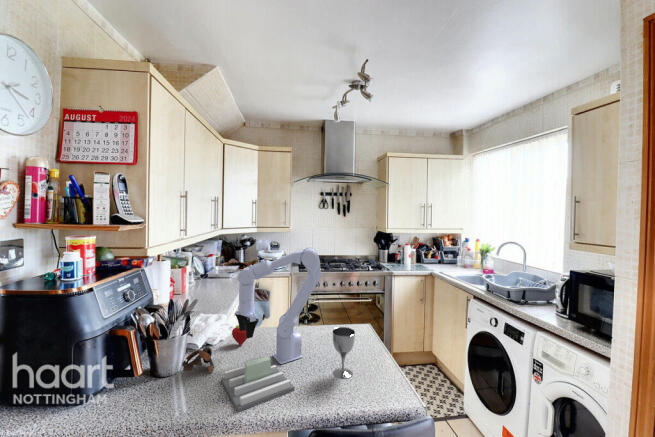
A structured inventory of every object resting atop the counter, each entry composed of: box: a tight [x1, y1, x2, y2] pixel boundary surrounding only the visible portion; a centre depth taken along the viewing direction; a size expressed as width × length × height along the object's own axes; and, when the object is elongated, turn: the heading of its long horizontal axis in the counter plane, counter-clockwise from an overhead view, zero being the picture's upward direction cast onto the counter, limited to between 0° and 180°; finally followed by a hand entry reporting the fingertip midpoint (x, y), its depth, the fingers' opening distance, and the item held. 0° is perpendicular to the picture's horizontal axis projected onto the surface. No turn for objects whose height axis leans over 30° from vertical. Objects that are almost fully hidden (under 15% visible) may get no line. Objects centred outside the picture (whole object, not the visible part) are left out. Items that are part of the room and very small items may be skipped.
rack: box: [220, 362, 295, 413], centre depth 93 cm, size 18×18×3 cm
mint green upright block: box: [244, 356, 272, 384], centre depth 93 cm, size 8×2×7 cm, turn 125°
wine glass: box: [331, 326, 356, 380], centre depth 101 cm, size 8×8×15 cm
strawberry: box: [231, 324, 247, 346], centre depth 121 cm, size 6×8×10 cm
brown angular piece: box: [181, 346, 215, 375], centre depth 102 cm, size 12×10×8 cm
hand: (246, 334), depth 110 cm, fingers open, 7 cm apart
